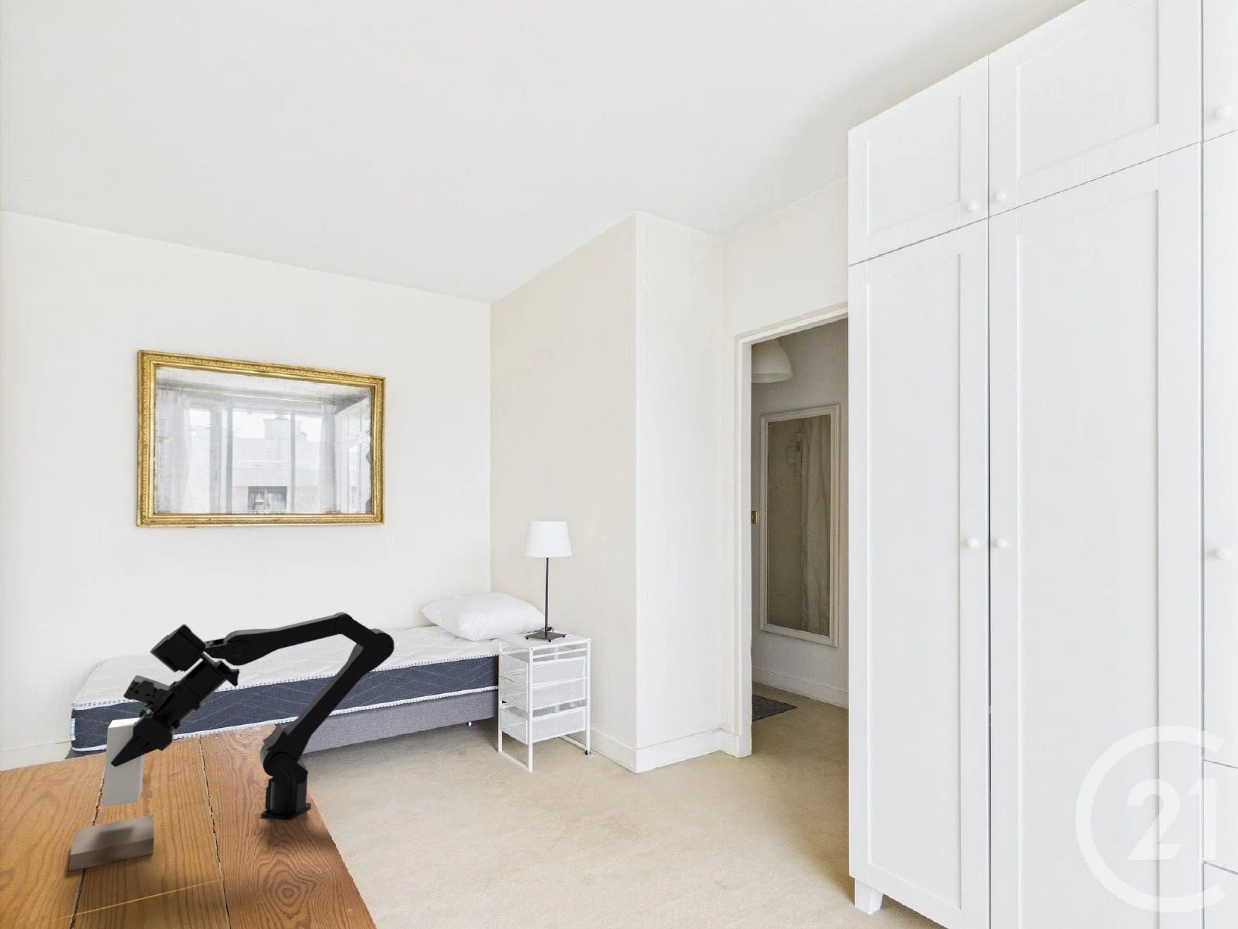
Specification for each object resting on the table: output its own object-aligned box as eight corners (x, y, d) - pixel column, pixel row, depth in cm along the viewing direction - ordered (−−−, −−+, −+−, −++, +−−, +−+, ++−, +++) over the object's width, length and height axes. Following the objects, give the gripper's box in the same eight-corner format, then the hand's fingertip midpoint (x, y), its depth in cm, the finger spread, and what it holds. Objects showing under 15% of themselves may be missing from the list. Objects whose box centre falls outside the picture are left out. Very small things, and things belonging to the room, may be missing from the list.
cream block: (141, 791, 124) (146, 717, 125) (137, 801, 119) (143, 724, 120) (107, 796, 121) (112, 720, 122) (101, 807, 117) (107, 728, 118)
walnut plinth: (151, 829, 124) (152, 814, 124) (152, 853, 115) (154, 838, 115) (74, 844, 118) (75, 829, 118) (68, 871, 109) (70, 855, 109)
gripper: (164, 650, 132) (87, 716, 126) (153, 669, 116) (64, 746, 110) (209, 688, 135) (136, 755, 129) (204, 712, 119) (121, 789, 113)
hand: (115, 760), depth 120 cm, fingers closed on cream block, 5 cm apart
